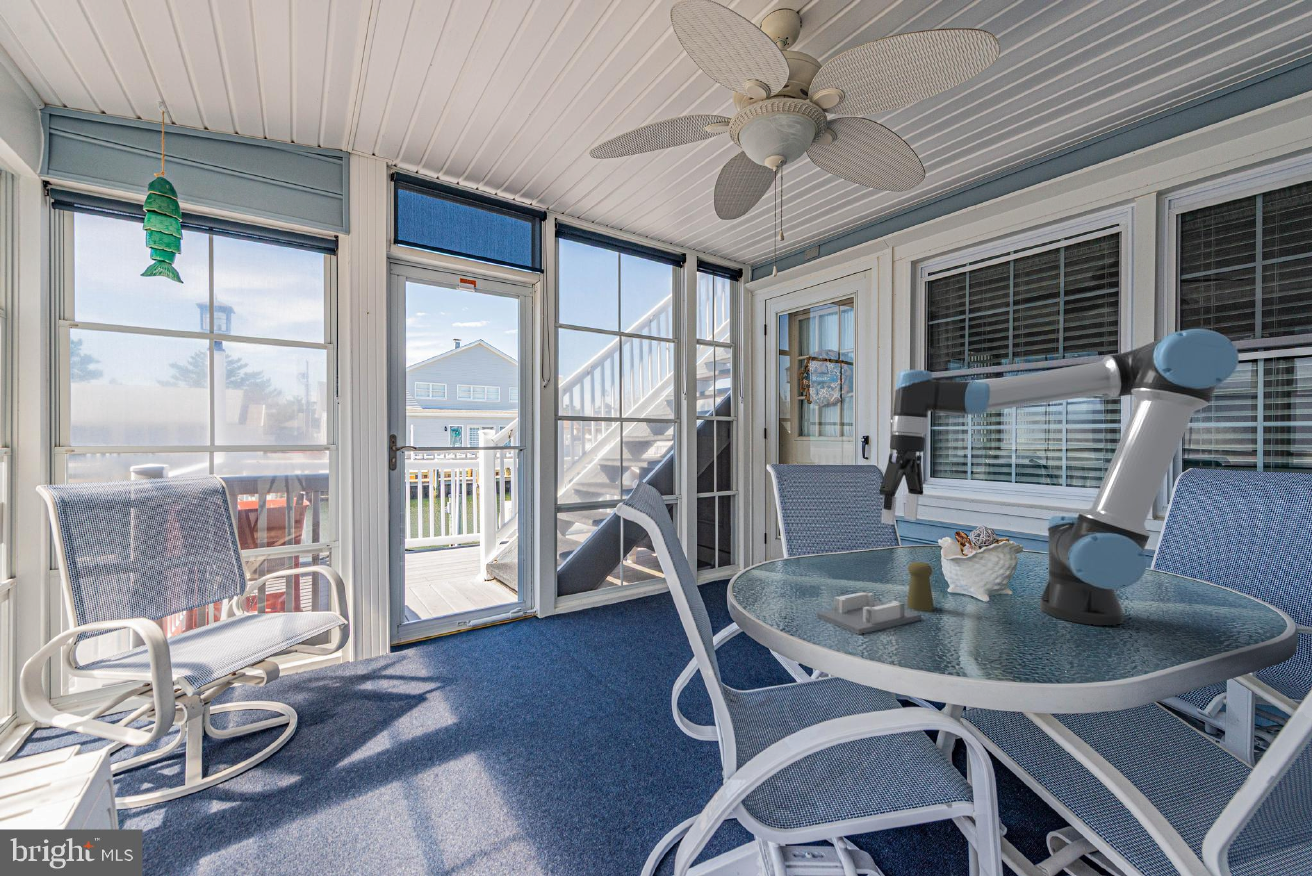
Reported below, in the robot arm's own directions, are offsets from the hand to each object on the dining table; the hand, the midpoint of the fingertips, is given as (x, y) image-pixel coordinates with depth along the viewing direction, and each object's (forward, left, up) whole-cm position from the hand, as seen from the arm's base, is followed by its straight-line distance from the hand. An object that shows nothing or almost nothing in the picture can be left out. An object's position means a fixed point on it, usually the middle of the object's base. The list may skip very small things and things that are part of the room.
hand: (899, 521), depth 126 cm
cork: (-1, -6, -22) cm, 22 cm away
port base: (-1, +12, -21) cm, 25 cm away
